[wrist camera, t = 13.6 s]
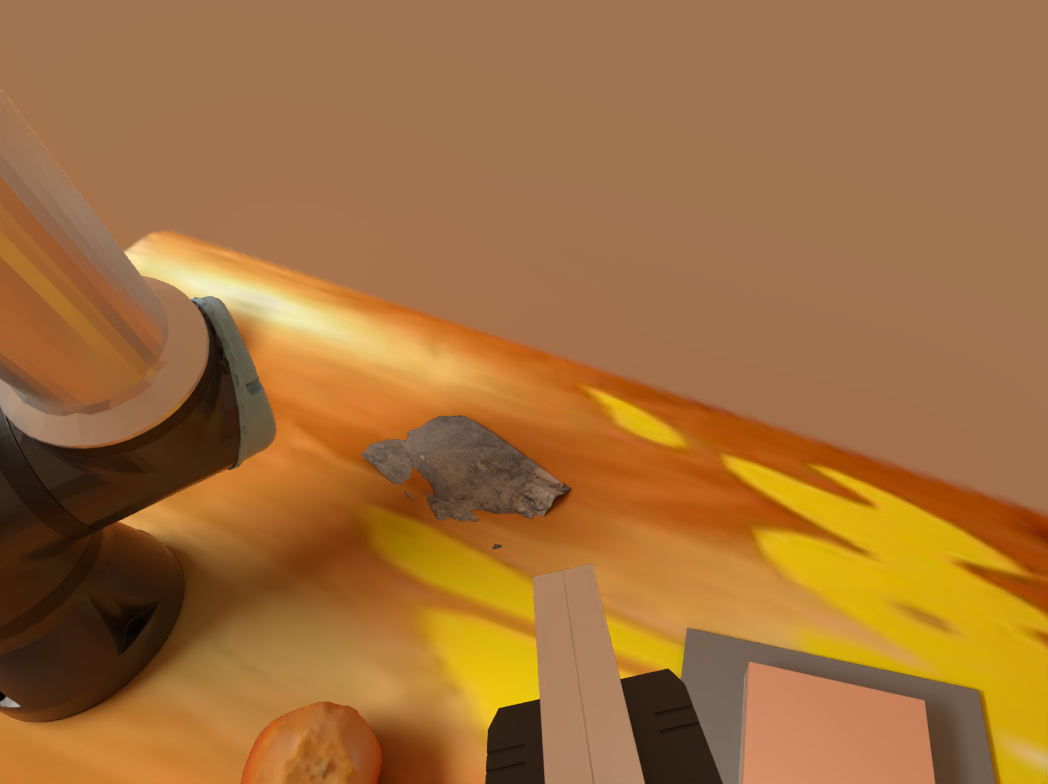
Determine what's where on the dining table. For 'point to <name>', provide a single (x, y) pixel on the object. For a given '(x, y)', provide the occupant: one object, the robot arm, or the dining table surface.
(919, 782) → the terracotta tile
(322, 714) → the fruit
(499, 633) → the dining table surface
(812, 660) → the rubber mat
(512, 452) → the stone slab
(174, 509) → the dining table surface
